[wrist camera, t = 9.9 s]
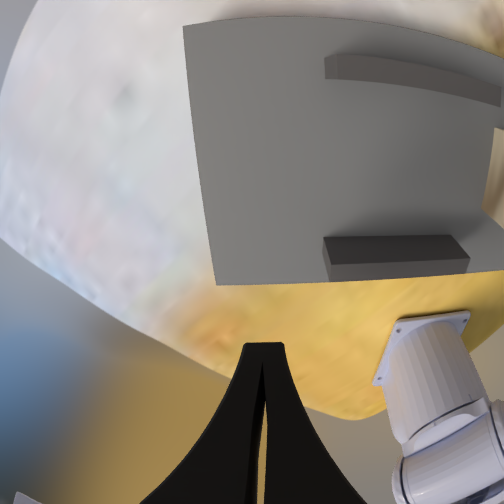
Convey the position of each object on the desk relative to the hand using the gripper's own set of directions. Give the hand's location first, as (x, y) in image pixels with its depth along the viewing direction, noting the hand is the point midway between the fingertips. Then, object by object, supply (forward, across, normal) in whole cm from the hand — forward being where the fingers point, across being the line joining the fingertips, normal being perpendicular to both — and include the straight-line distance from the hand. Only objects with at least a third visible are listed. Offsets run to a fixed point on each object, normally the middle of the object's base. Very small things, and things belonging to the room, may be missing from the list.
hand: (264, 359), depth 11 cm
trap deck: (+9, -12, -5) cm, 16 cm away
